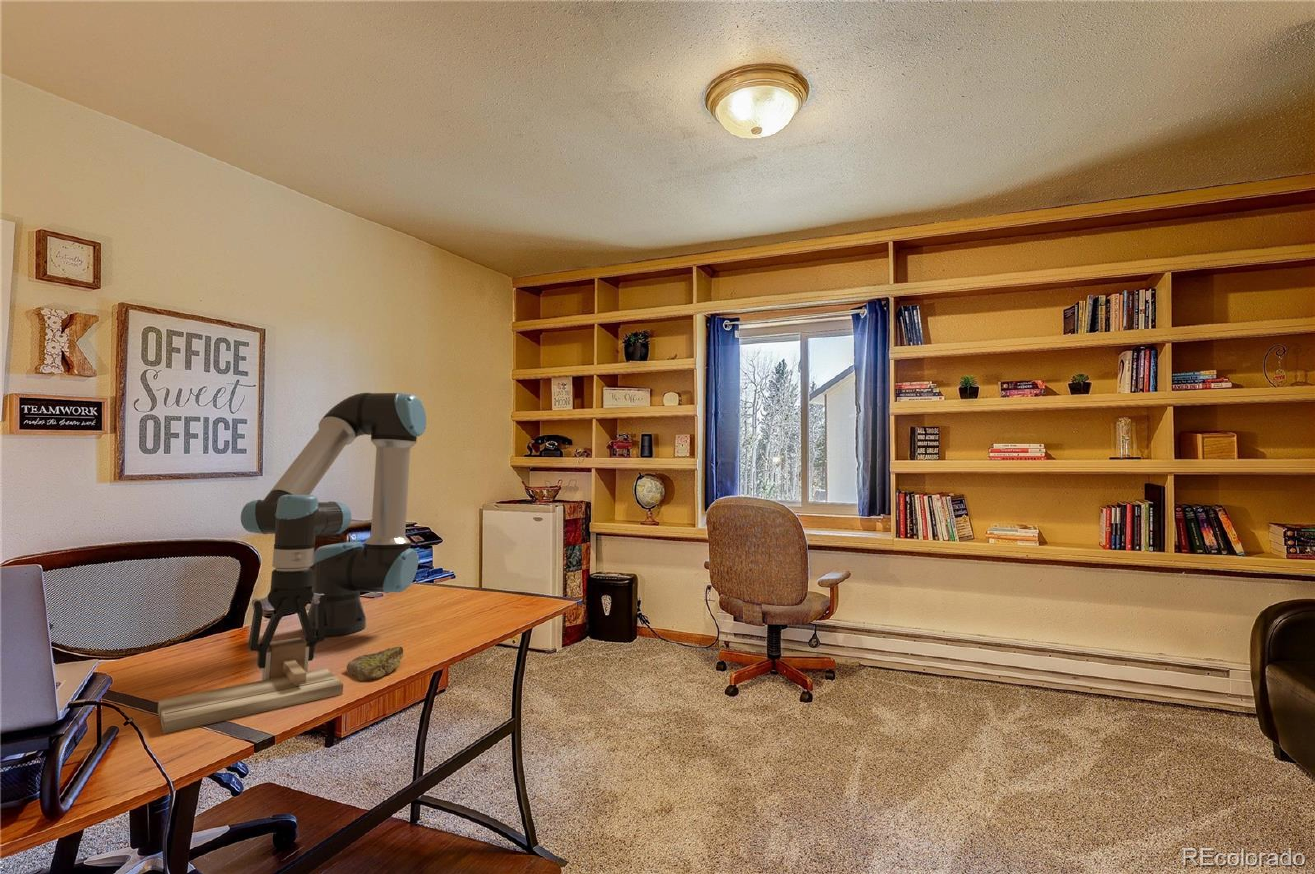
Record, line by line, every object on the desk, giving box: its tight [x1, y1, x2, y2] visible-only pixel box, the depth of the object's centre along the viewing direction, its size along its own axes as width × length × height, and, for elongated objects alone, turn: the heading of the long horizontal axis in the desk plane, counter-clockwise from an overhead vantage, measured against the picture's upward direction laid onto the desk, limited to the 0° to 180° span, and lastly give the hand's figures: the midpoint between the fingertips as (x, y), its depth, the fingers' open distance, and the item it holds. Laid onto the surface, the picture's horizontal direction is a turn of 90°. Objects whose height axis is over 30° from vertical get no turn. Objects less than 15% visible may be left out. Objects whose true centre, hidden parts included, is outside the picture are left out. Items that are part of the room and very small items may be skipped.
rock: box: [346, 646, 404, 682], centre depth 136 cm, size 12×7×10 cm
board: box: [157, 667, 344, 735], centre depth 118 cm, size 12×28×2 cm, turn 133°
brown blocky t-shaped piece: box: [268, 637, 307, 686], centre depth 126 cm, size 15×6×8 cm, turn 42°
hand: (284, 679), depth 129 cm, fingers open, 6 cm apart
